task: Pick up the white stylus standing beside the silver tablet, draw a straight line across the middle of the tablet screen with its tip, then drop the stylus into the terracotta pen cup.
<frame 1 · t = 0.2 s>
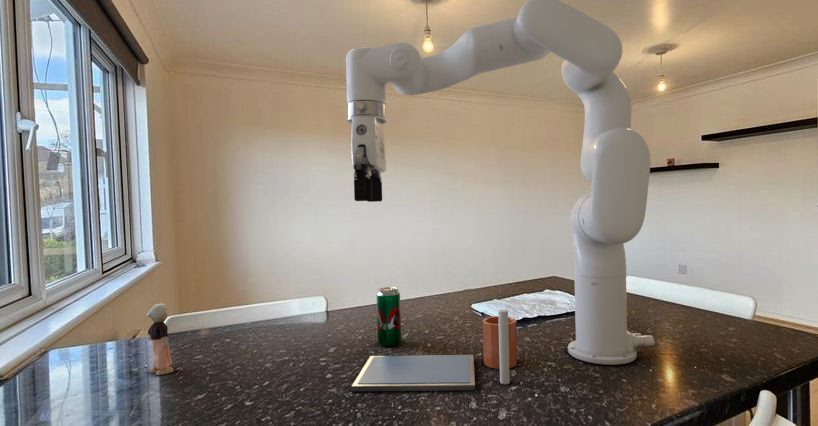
hand: (369, 201, 85), 31 cm above the table, tool pointing down, fingers open, 9 cm apart
grandmother figurine: (160, 371, 81), on the table
soda can: (389, 344, 93), on the table
tablet: (417, 374, 76), on the table
stylus: (504, 382, 71), on the table
pen cup: (500, 362, 80), on the table
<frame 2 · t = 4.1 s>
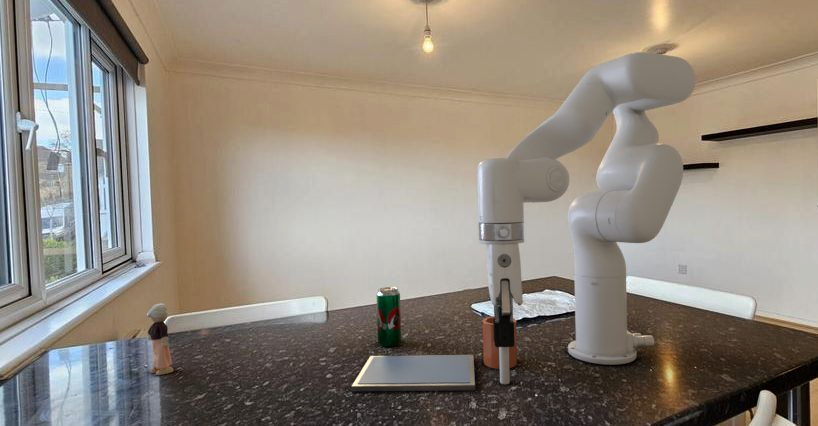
hand: (503, 343, 71), 7 cm above the table, tool pointing down, fingers closed on stylus, 1 cm apart
stylus: (504, 382, 71), on the table, touching gripper
everything else where it was.
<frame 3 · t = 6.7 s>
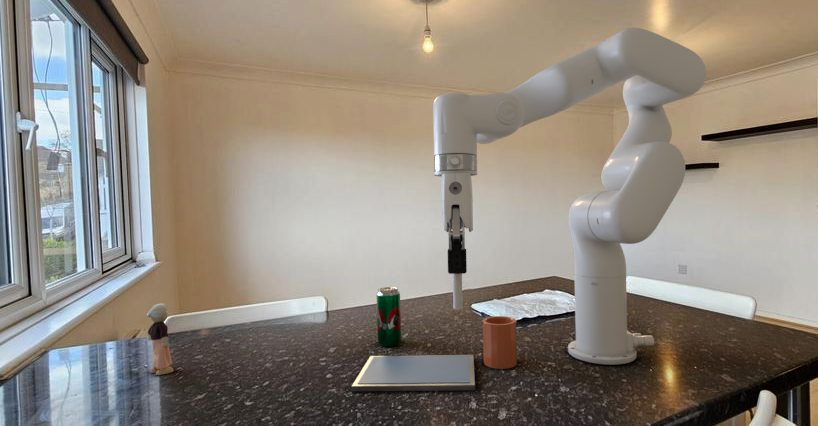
hand: (457, 271, 75), 18 cm above the table, tool pointing down, fingers closed on stylus, 1 cm apart
stylus: (457, 308, 75), point 12 cm above the table, touching gripper
everything else where it was.
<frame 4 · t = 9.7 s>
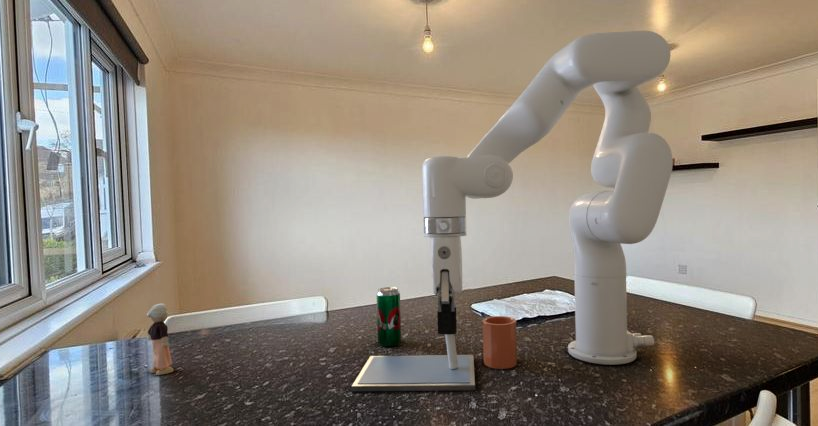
hand: (447, 331, 76), 8 cm above the table, tool pointing down, fingers closed on stylus, 1 cm apart
stylus: (453, 367, 76), point 1 cm above the table, tilted 6°, touching gripper
everything else where it was.
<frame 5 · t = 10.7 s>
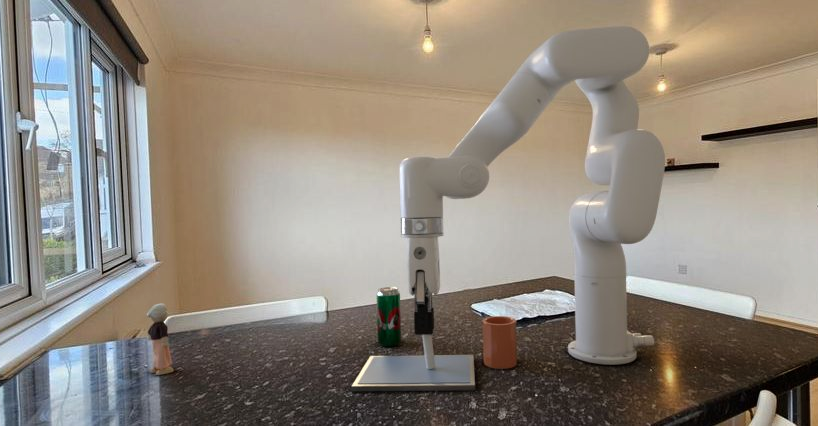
hand: (424, 331, 76), 8 cm above the table, tool pointing down, fingers closed on stylus, 1 cm apart
stylus: (430, 367, 76), point 1 cm above the table, tilted 6°, touching gripper
everything else where it was.
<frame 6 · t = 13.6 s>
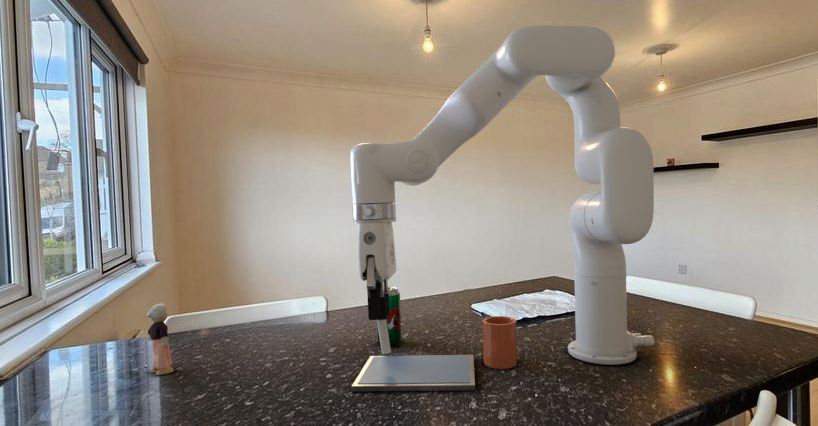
hand: (379, 316, 76), 10 cm above the table, tool pointing down, fingers closed on stylus
stylus: (386, 352, 76), point 4 cm above the table, tilted 7°, touching gripper
everything else where it was.
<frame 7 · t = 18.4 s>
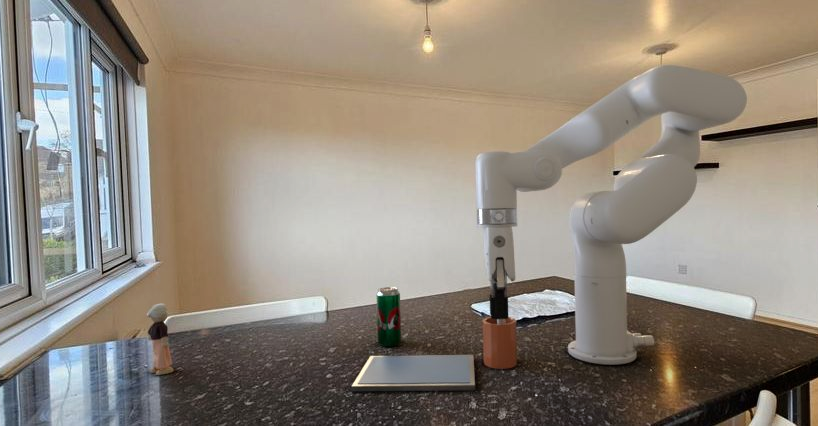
hand: (499, 316, 80), 9 cm above the table, tool pointing down, fingers closed on stylus, 1 cm apart
stylus: (505, 350, 80), point 2 cm above the table, tilted 6°, touching gripper
everything else where it was.
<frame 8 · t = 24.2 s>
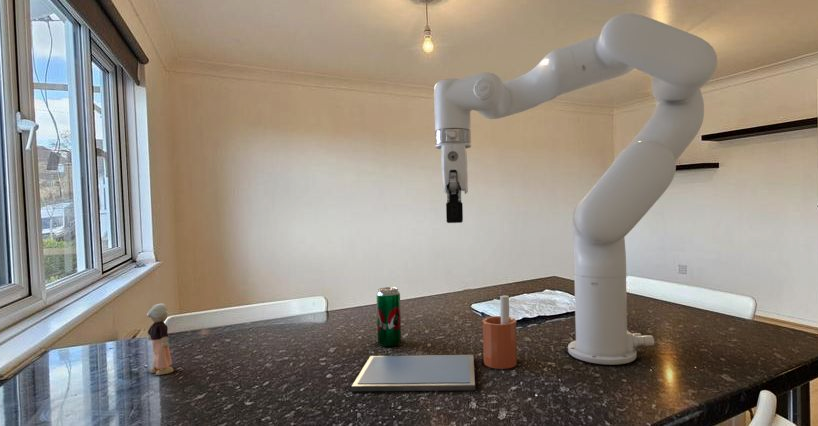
hand: (455, 221, 90), 26 cm above the table, tool pointing down, fingers open, 9 cm apart
stylus: (506, 360, 80), resting on pen cup
everything else where it was.
at the end: stylus 1.1 cm off-centre in the pen cup, point 0.5 cm above the pen cup's base; the gripper is holding nothing; stylus moved 9.1 cm from its start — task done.
